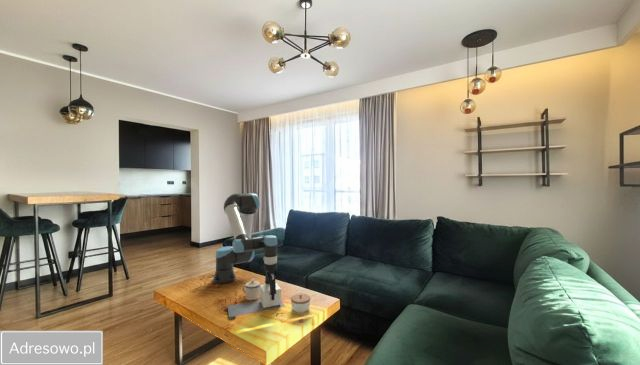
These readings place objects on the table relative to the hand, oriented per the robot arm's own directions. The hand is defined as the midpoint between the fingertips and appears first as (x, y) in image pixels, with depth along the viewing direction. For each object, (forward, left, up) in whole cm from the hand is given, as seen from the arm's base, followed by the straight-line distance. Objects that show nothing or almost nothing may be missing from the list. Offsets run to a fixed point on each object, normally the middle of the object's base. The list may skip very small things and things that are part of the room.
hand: (270, 300), depth 152 cm
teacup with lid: (-14, -9, -3) cm, 17 cm away
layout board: (0, -8, -3) cm, 8 cm away
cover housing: (0, 0, -1) cm, 1 cm away
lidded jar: (+13, +14, -3) cm, 19 cm away
